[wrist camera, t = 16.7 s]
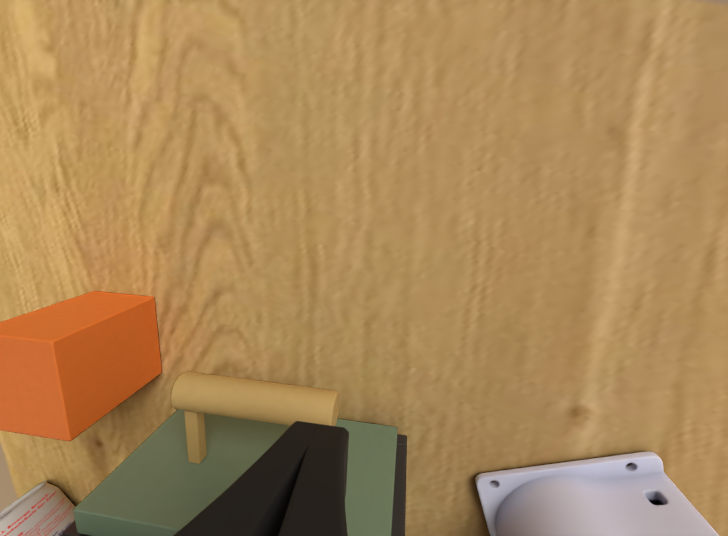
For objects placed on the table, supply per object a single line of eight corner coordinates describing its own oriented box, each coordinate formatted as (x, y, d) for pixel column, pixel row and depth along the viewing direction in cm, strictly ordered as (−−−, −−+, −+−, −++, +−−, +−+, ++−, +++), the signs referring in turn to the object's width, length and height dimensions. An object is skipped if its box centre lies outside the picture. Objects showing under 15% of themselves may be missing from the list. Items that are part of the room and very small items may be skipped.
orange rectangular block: (94, 290, 21) (-30, 331, 15) (155, 296, 20) (51, 341, 14) (104, 365, 22) (-6, 430, 16) (162, 372, 21) (70, 442, 16)
